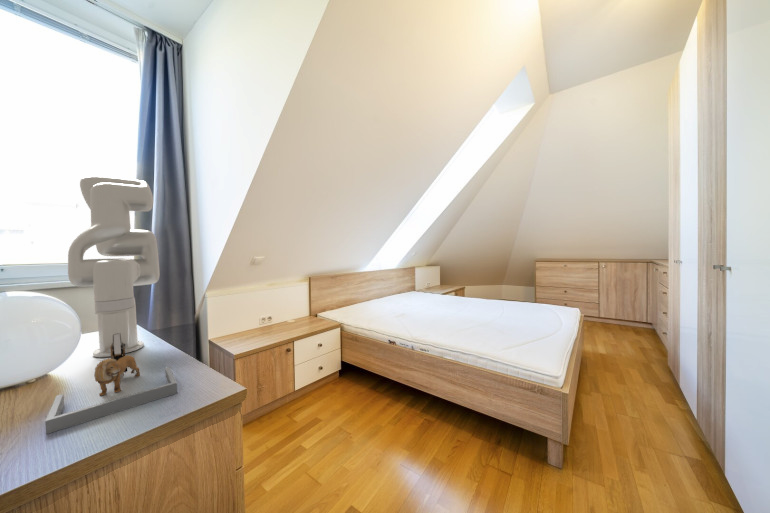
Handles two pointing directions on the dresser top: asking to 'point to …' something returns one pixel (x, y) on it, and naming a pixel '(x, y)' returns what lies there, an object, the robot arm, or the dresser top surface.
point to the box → (106, 405)
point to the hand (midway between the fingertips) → (119, 372)
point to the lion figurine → (114, 372)
